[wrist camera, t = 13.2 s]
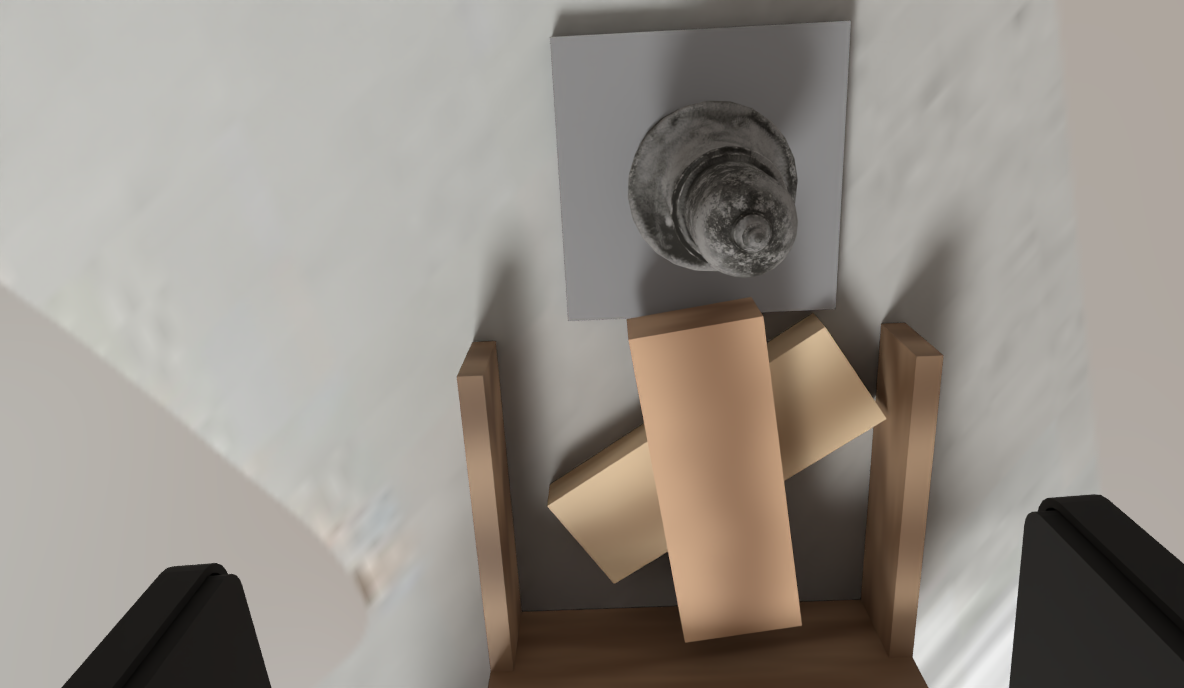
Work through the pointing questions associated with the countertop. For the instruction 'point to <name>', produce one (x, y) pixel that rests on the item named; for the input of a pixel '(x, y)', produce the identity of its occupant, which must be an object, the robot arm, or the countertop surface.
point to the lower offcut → (624, 470)
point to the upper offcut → (717, 466)
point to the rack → (654, 634)
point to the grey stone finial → (716, 189)
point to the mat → (652, 91)
